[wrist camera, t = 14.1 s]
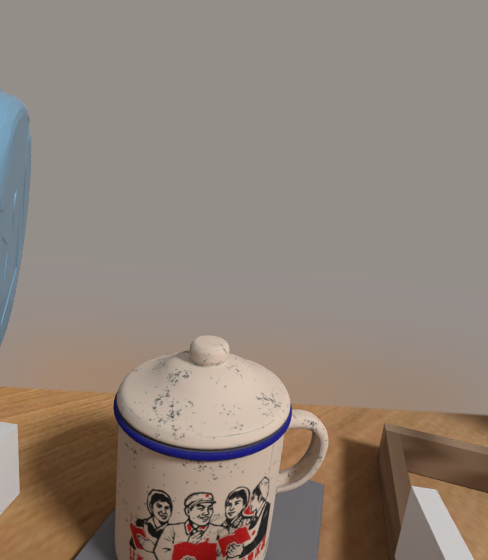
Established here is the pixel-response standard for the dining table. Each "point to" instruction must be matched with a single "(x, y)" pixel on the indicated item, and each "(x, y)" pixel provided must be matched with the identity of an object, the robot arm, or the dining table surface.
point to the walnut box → (423, 469)
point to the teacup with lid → (204, 455)
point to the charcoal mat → (283, 535)
